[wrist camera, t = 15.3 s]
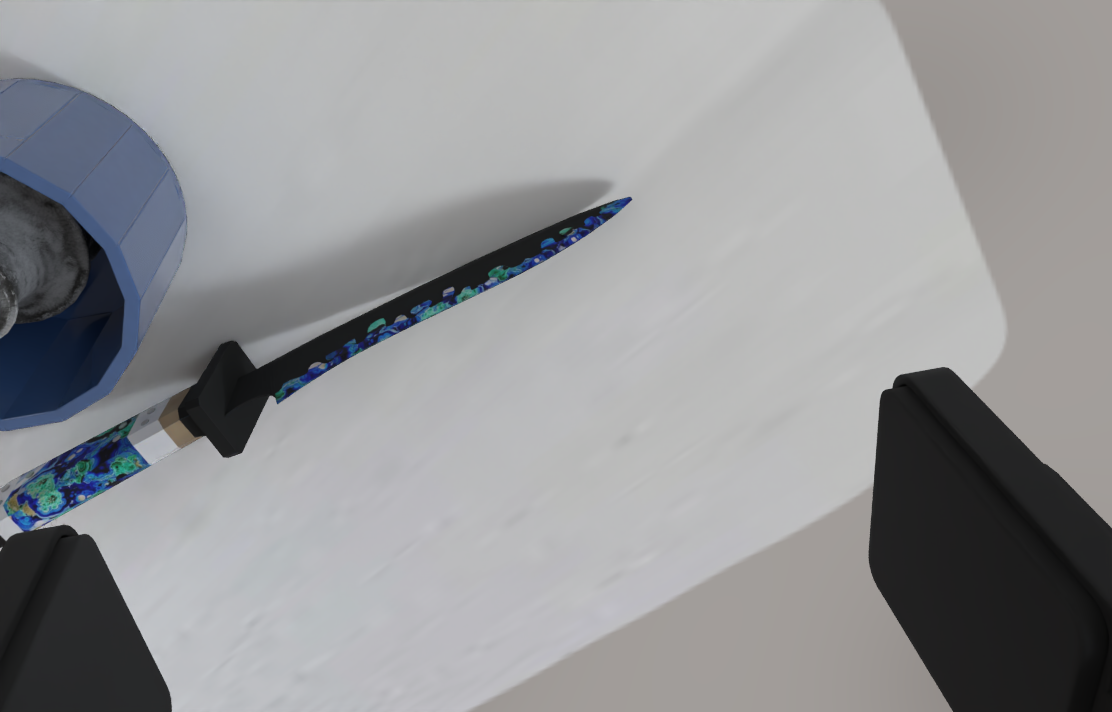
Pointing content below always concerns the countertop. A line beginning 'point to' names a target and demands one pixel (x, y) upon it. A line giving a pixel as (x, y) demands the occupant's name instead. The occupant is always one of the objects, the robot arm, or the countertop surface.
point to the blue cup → (114, 223)
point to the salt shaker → (39, 255)
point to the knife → (260, 384)
